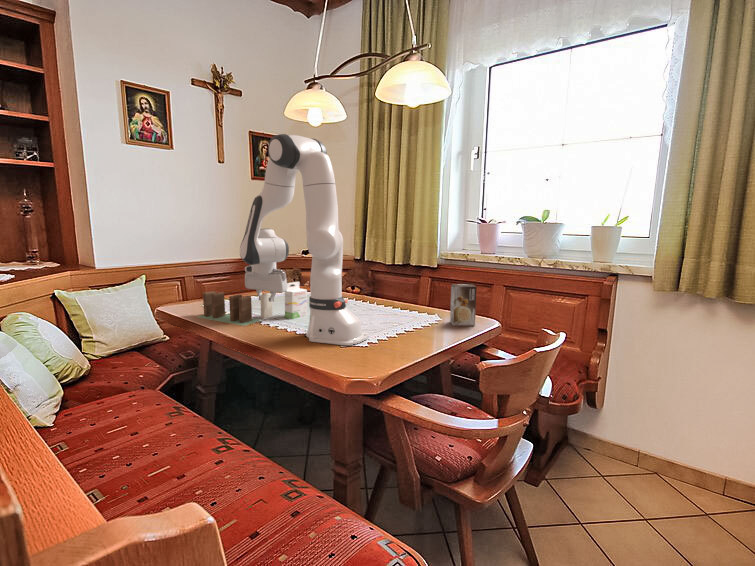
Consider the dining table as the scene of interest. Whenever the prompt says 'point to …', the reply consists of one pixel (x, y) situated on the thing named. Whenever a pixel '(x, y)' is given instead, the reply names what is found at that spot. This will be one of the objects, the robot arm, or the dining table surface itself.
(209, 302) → the domino
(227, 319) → the felt mat
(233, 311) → the domino
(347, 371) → the dining table surface
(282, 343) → the dining table surface
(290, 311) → the ink box
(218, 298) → the domino
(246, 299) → the domino
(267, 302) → the ivory domino
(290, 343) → the dining table surface
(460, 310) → the coffee box
